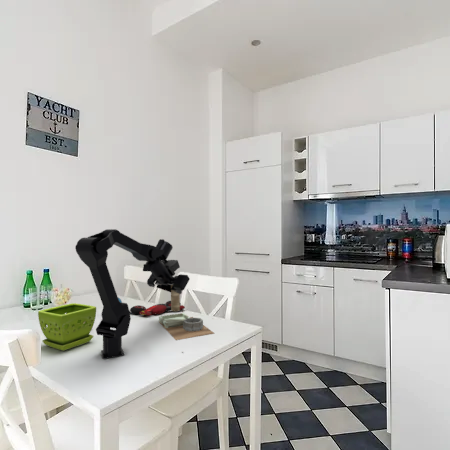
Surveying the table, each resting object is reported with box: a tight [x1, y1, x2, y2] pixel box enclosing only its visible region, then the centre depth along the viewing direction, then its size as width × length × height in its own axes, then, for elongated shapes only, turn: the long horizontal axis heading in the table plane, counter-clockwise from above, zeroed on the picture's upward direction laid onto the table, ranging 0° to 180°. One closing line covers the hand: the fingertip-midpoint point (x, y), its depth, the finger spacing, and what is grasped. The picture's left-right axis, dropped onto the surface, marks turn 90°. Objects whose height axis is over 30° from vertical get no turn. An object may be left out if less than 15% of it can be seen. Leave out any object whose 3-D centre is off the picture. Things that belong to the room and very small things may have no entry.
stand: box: [158, 312, 215, 341], centre depth 124 cm, size 26×15×4 cm, turn 26°
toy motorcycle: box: [129, 300, 185, 316], centre depth 149 cm, size 25×5×16 cm
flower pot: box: [37, 302, 97, 351], centre depth 109 cm, size 14×14×13 cm
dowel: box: [170, 285, 181, 312], centre depth 130 cm, size 4×4×13 cm
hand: (177, 292), depth 131 cm, fingers closed on dowel, 4 cm apart
